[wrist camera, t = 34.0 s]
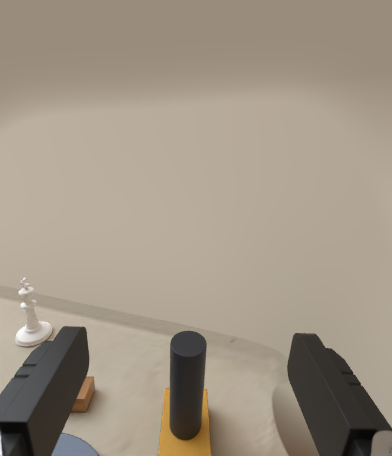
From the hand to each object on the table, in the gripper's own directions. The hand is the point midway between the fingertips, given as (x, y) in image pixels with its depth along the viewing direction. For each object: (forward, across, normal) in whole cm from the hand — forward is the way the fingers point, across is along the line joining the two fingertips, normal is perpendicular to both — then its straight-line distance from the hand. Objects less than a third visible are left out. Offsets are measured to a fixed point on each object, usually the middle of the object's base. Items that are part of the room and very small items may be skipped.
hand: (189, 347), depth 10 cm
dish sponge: (+11, 0, +22) cm, 25 cm away
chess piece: (+26, +24, +23) cm, 42 cm away
